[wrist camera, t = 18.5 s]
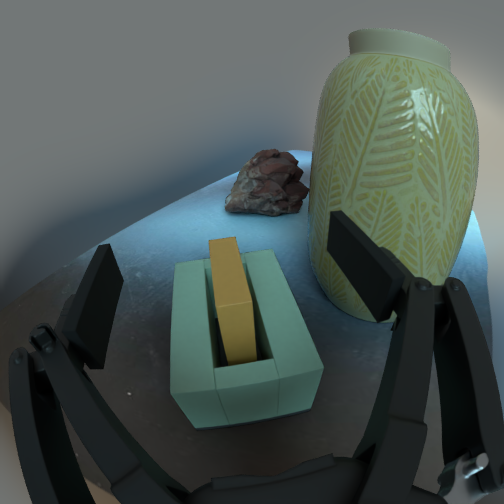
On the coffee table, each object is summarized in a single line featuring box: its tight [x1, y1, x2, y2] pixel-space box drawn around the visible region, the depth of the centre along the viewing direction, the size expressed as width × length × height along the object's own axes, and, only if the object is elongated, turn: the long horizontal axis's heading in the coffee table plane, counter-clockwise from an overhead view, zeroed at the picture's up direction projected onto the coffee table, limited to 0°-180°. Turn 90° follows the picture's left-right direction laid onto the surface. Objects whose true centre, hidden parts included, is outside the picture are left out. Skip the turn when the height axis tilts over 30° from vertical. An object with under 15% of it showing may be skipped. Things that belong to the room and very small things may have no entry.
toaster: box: [170, 249, 324, 431], centre depth 21 cm, size 14×9×7 cm, turn 10°
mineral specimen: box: [225, 149, 309, 216], centre depth 45 cm, size 12×13×15 cm
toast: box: [209, 237, 257, 366], centre depth 20 cm, size 7×2×10 cm, turn 10°
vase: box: [308, 28, 479, 323], centre depth 23 cm, size 17×17×27 cm
